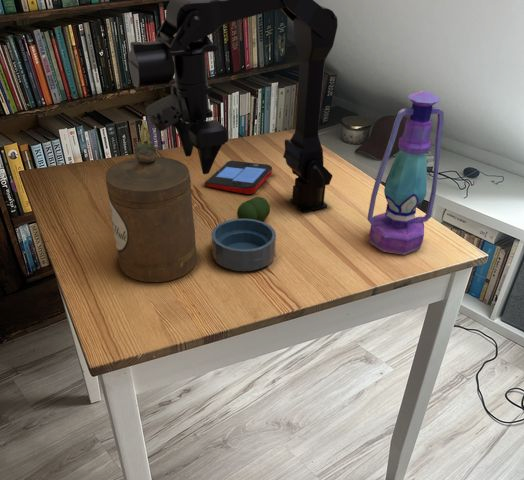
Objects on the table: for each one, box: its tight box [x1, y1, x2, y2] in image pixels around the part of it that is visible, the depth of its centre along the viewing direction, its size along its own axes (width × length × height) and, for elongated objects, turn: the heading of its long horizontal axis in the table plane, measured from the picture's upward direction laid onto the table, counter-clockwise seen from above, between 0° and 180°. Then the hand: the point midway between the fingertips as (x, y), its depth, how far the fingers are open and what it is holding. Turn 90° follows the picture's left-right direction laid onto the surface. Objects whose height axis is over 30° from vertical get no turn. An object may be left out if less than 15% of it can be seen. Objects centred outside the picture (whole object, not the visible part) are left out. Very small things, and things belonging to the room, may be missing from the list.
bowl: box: [210, 218, 277, 272], centre depth 110 cm, size 12×12×5 cm
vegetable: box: [134, 119, 158, 158], centre depth 117 cm, size 4×4×20 cm
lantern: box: [366, 90, 445, 255], centre depth 108 cm, size 13×12×30 cm
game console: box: [204, 160, 273, 195], centre depth 137 cm, size 14×13×2 cm
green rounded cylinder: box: [236, 196, 271, 221], centre depth 121 cm, size 8×5×5 cm, turn 136°
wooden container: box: [105, 149, 198, 283], centre depth 102 cm, size 15×15×22 cm
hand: (196, 164), depth 110 cm, fingers open, 9 cm apart
